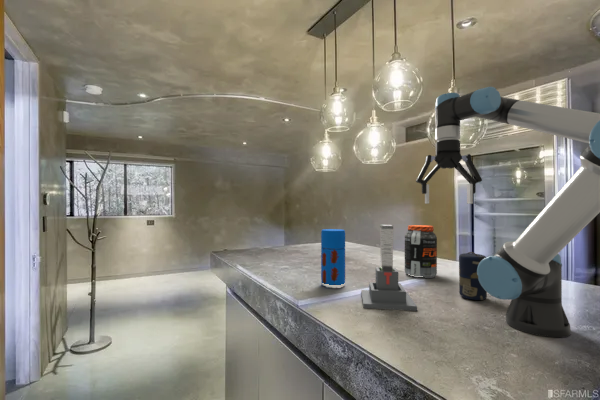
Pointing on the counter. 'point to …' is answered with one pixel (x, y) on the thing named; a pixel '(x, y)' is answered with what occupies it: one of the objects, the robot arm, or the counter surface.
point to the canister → (470, 276)
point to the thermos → (333, 256)
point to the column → (386, 246)
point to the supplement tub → (421, 251)
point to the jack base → (387, 292)
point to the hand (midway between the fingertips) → (448, 203)
